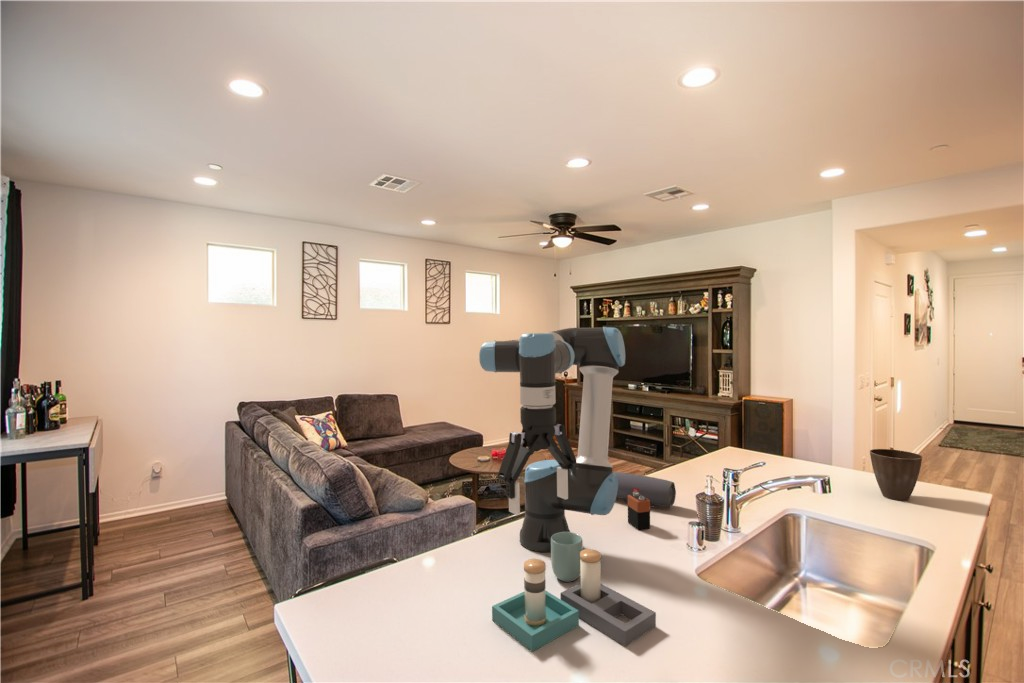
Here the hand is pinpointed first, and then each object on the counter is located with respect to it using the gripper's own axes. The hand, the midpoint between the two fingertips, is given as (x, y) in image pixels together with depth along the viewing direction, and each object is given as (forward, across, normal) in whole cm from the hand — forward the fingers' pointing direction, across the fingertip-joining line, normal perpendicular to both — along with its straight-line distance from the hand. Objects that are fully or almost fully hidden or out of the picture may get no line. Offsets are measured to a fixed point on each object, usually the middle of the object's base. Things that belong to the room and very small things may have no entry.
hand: (539, 505), depth 102 cm
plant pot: (+26, +149, -26) cm, 153 cm away
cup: (+25, +17, +9) cm, 32 cm away
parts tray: (+25, -2, 0) cm, 25 cm away
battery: (+26, +56, +18) cm, 64 cm away
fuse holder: (+25, +12, -8) cm, 29 cm away
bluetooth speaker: (+26, +73, +30) cm, 83 cm away
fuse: (+25, +12, -4) cm, 28 cm away
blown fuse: (+24, -2, 0) cm, 24 cm away
